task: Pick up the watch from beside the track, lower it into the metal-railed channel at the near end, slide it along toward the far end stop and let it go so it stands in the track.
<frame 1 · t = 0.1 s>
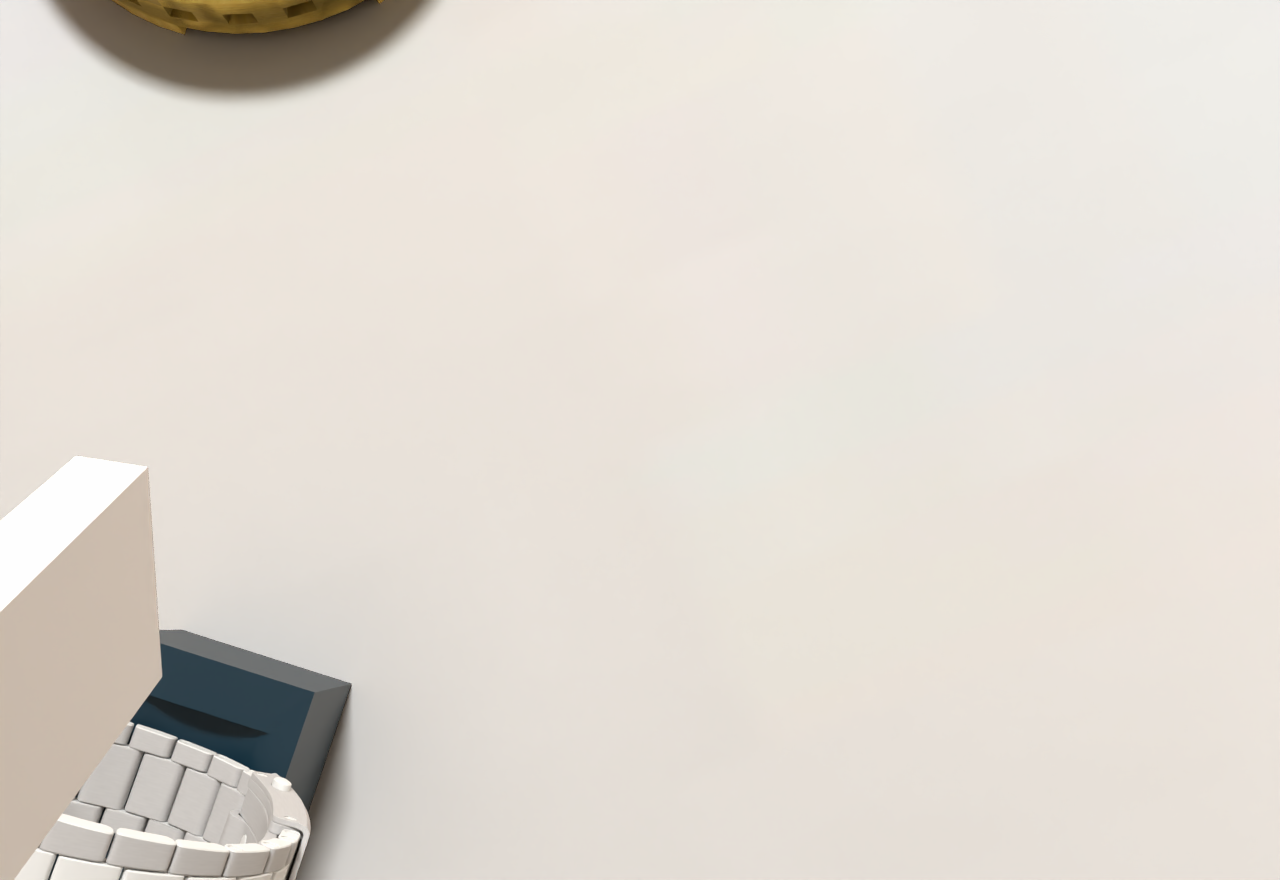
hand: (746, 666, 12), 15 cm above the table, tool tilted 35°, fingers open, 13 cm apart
watch: (224, 770, 27), on the table
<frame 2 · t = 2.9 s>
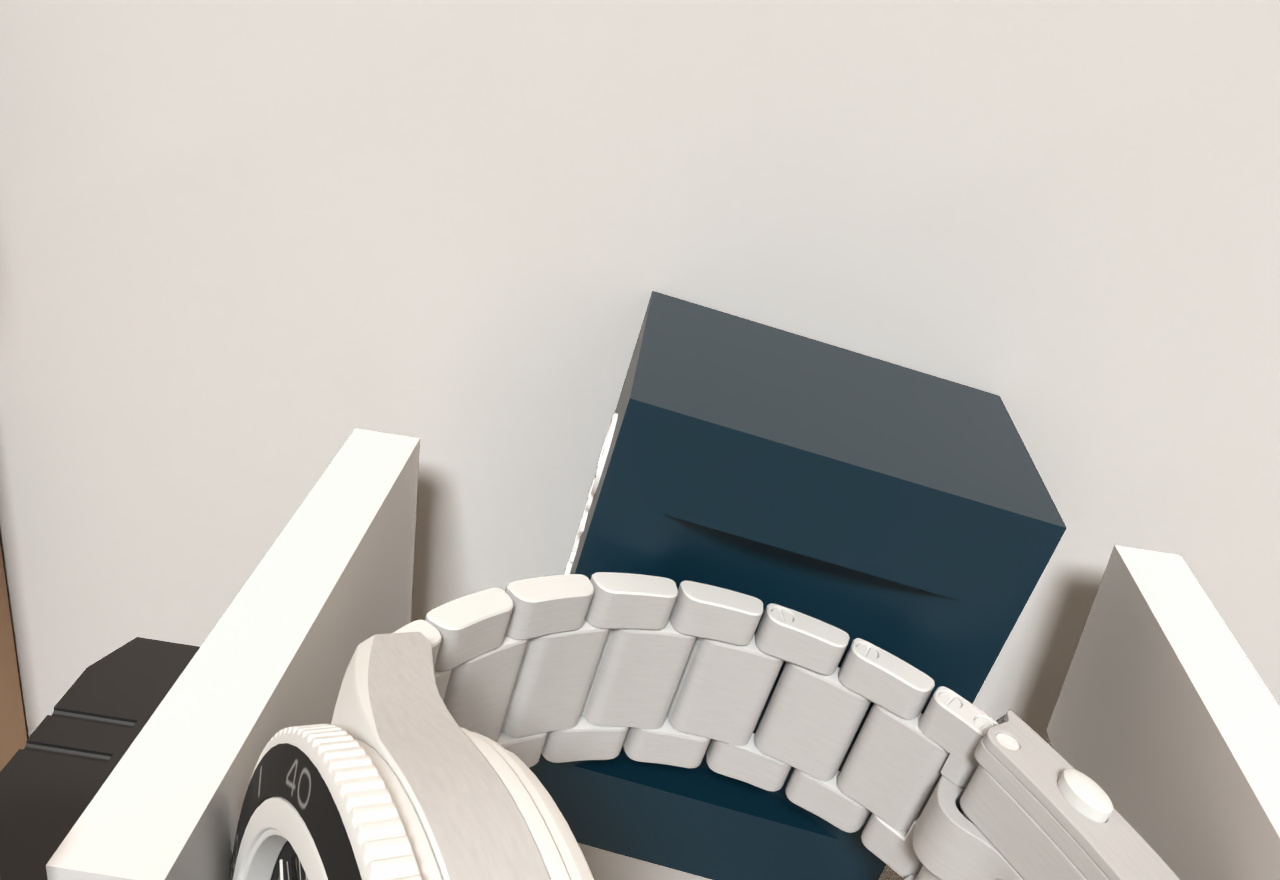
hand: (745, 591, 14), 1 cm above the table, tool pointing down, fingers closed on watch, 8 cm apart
watch: (744, 528, 15), on the table, touching gripper
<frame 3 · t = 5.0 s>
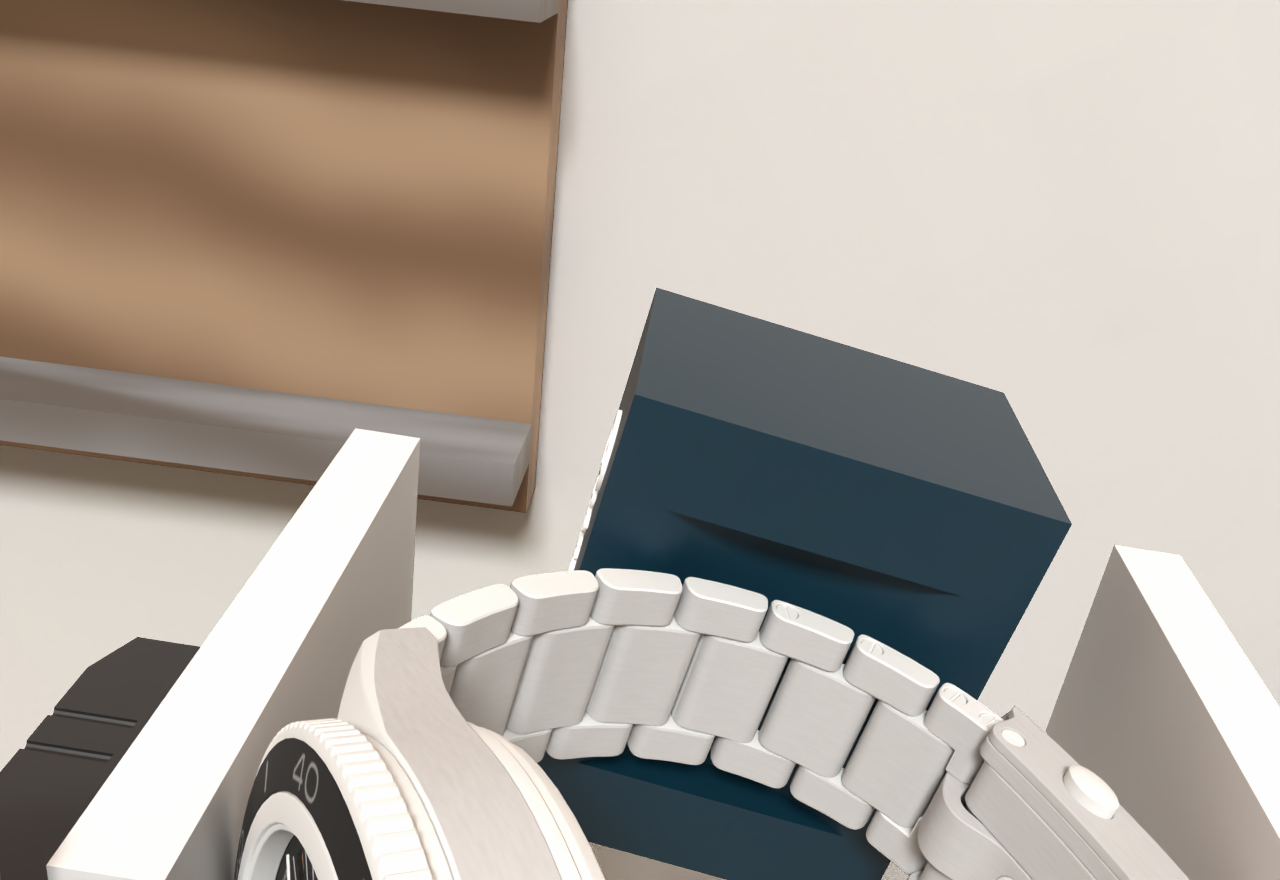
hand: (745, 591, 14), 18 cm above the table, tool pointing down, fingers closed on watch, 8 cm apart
watch: (747, 525, 15), point 16 cm above the table, touching gripper
track: (107, 166, 31), on the table
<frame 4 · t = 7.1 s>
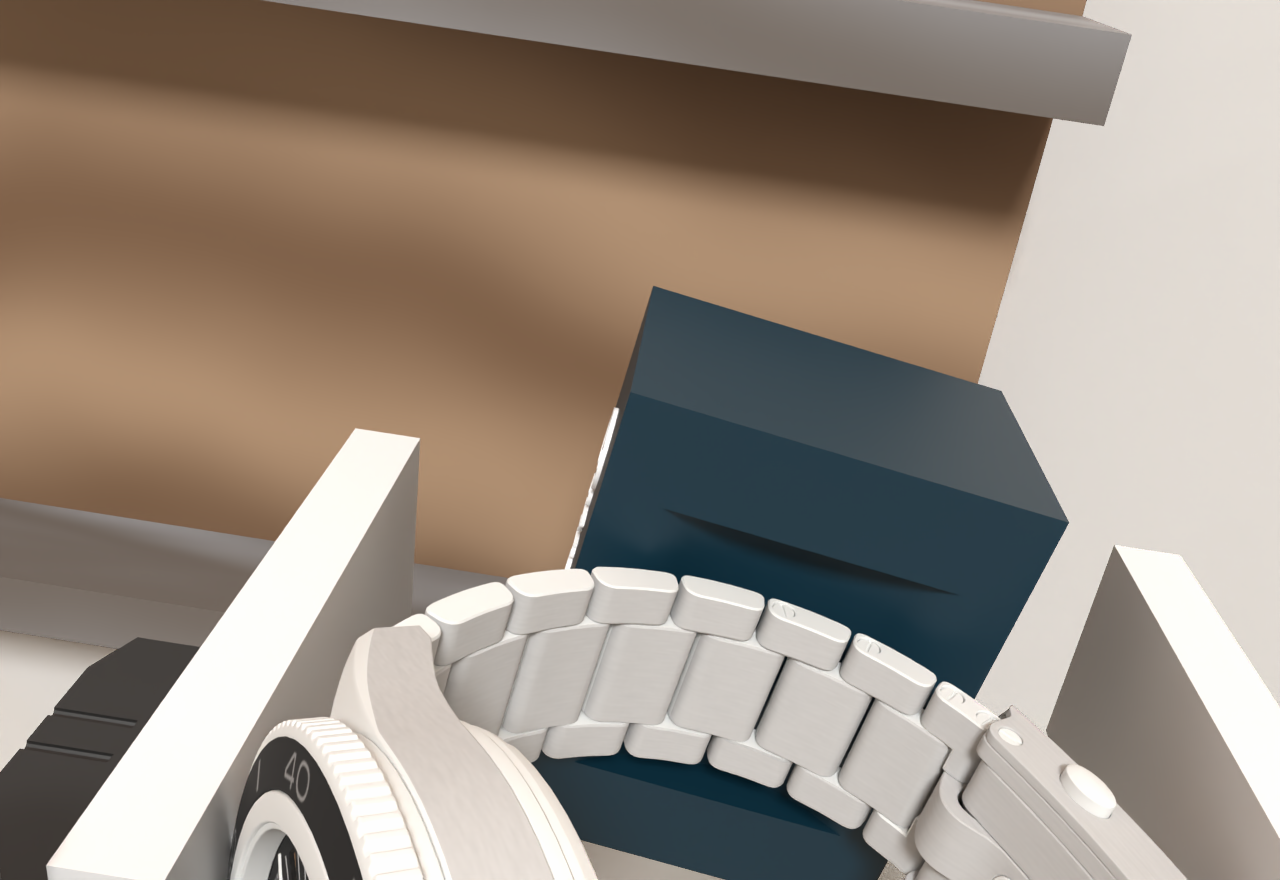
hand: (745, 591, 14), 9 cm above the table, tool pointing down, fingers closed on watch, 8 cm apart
watch: (745, 524, 15), point 8 cm above the table, touching gripper
track: (333, 271, 22), on the table
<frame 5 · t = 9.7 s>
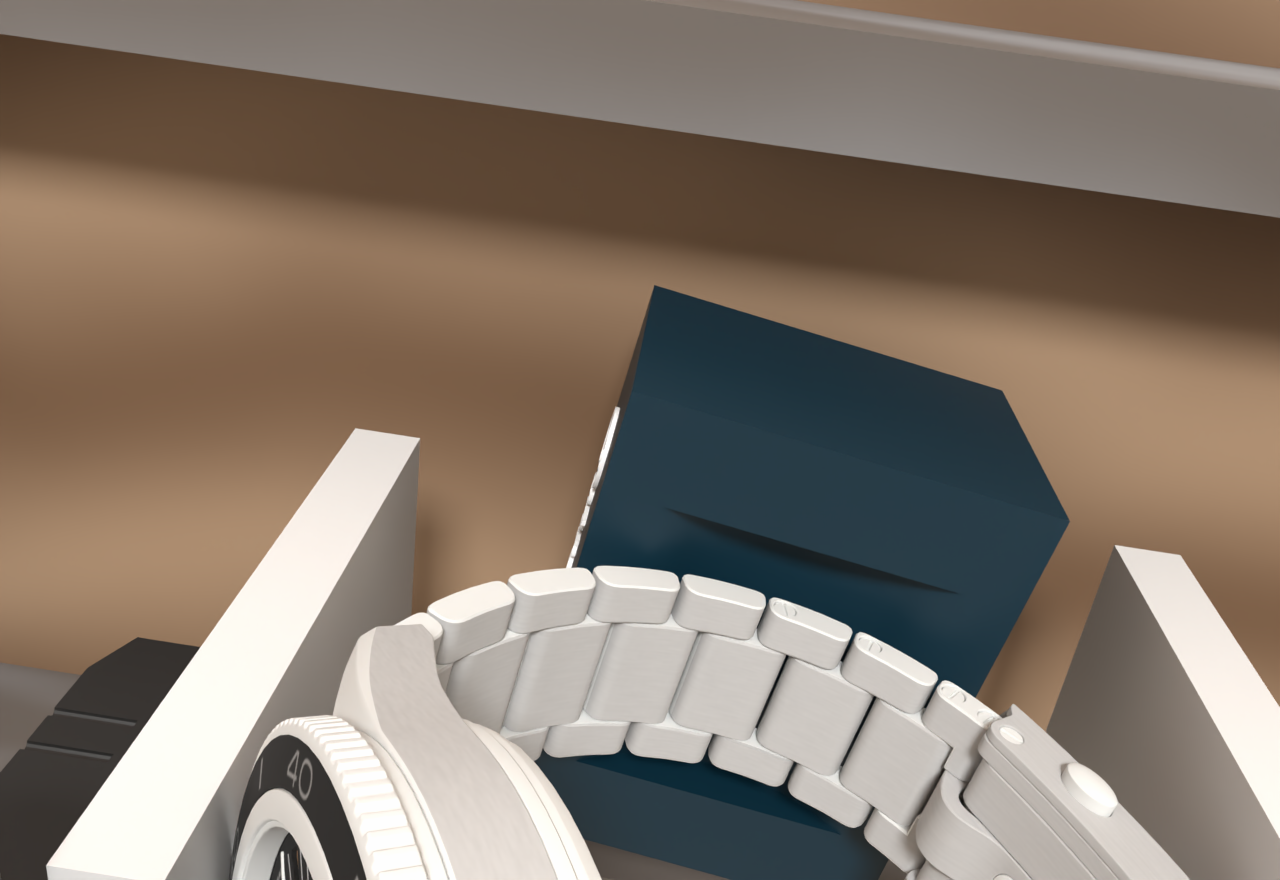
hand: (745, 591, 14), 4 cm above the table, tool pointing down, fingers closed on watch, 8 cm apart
watch: (746, 523, 15), point 3 cm above the table, touching gripper
track: (646, 425, 18), on the table
when the fingers open (4 cm above the table, at t = 11.6 s): watch drops 1 cm, resting on track.
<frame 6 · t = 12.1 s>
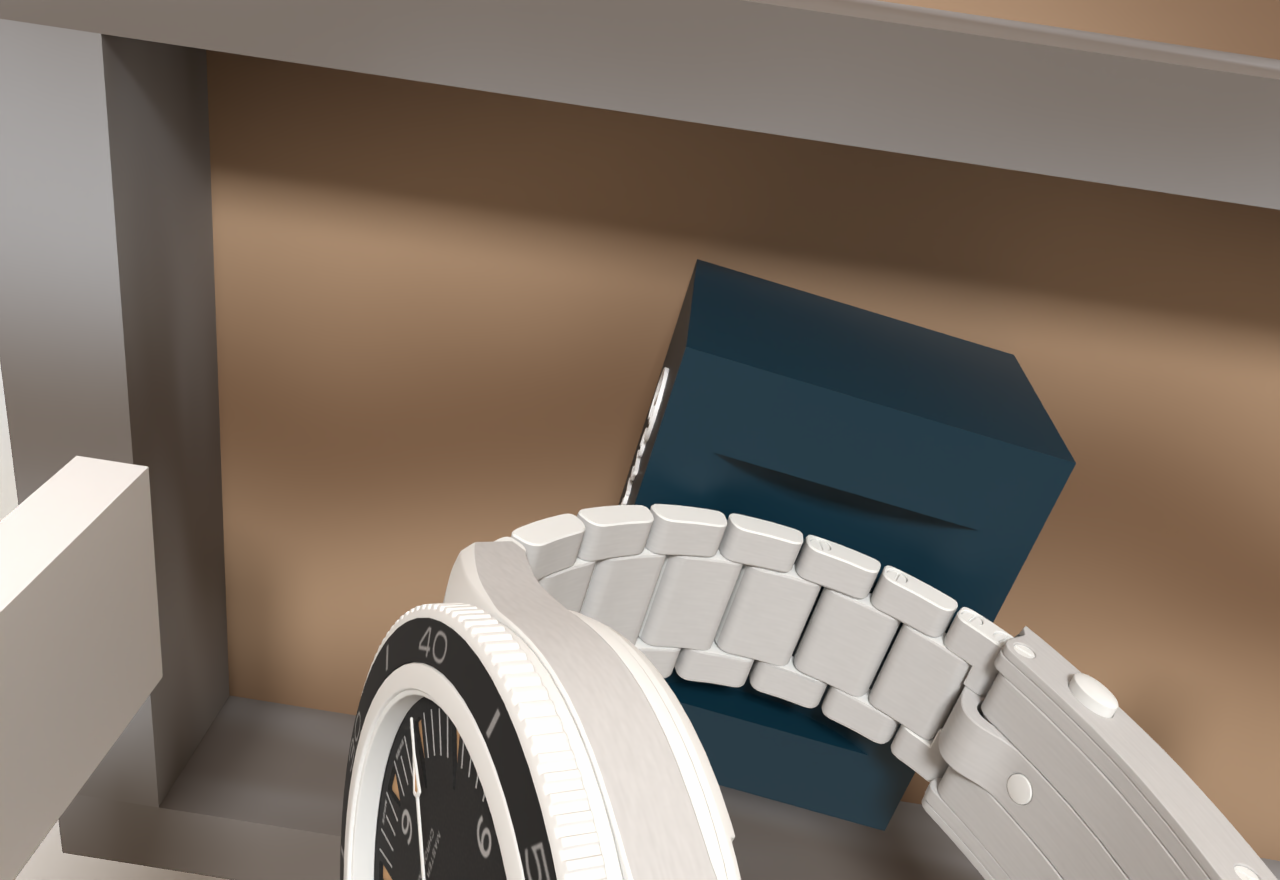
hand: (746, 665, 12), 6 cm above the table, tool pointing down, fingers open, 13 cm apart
watch: (778, 480, 16), point 1 cm above the table, touching track
track: (940, 466, 17), on the table
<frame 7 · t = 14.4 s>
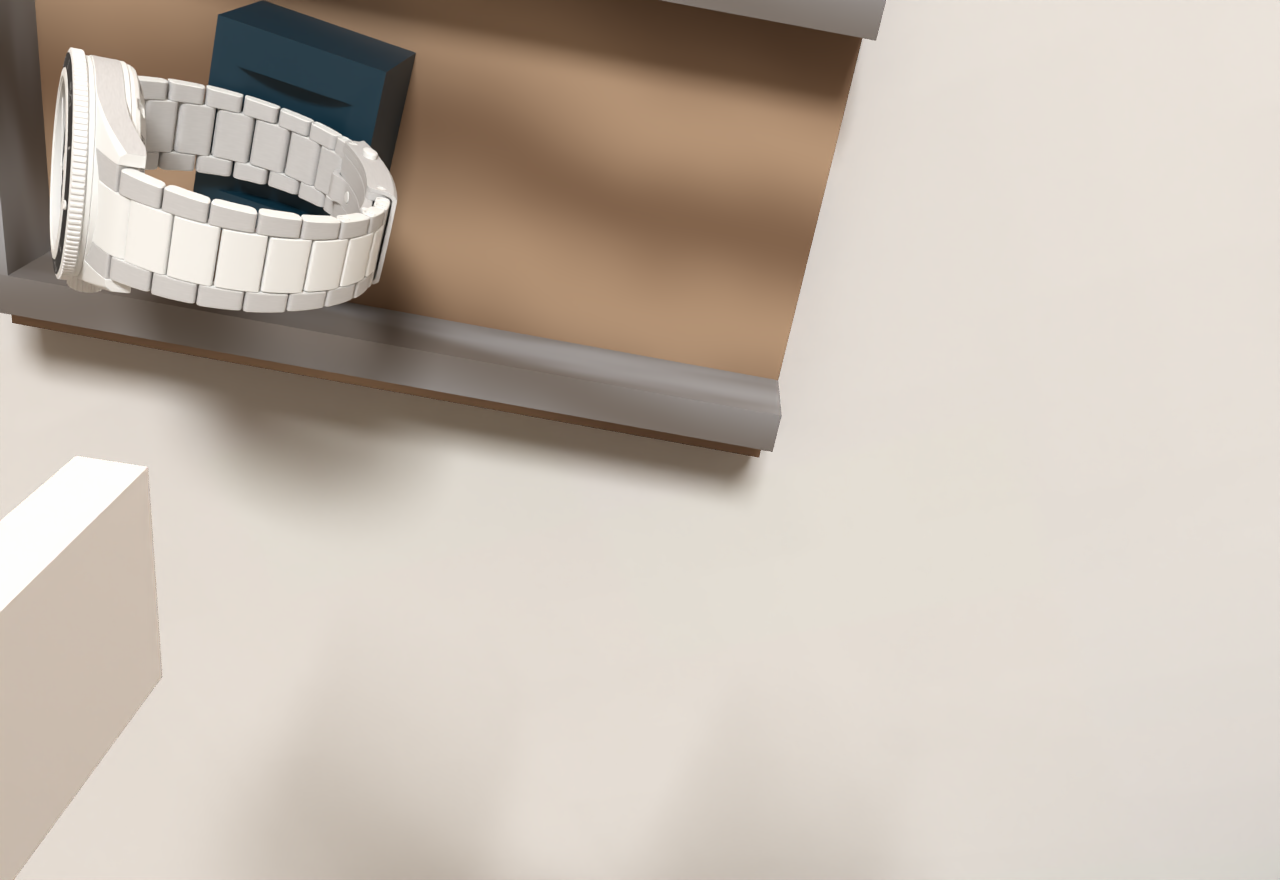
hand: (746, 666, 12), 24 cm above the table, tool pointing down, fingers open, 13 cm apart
watch: (320, 122, 33), point 1 cm above the table, touching track
track: (418, 129, 34), on the table
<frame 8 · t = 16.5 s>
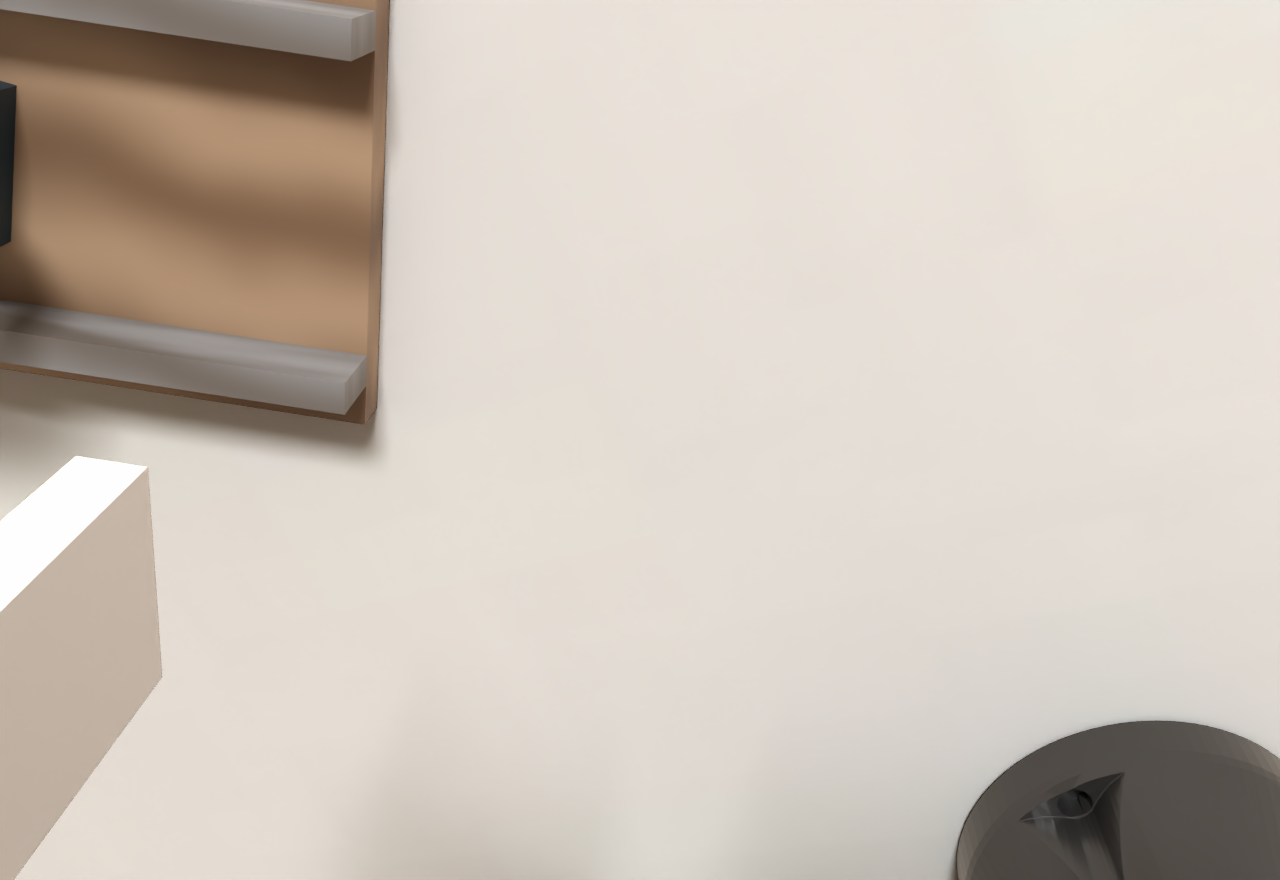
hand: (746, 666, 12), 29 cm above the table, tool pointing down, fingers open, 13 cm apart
track: (45, 150, 40), on the table
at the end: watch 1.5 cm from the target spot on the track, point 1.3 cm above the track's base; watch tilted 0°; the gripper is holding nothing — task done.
